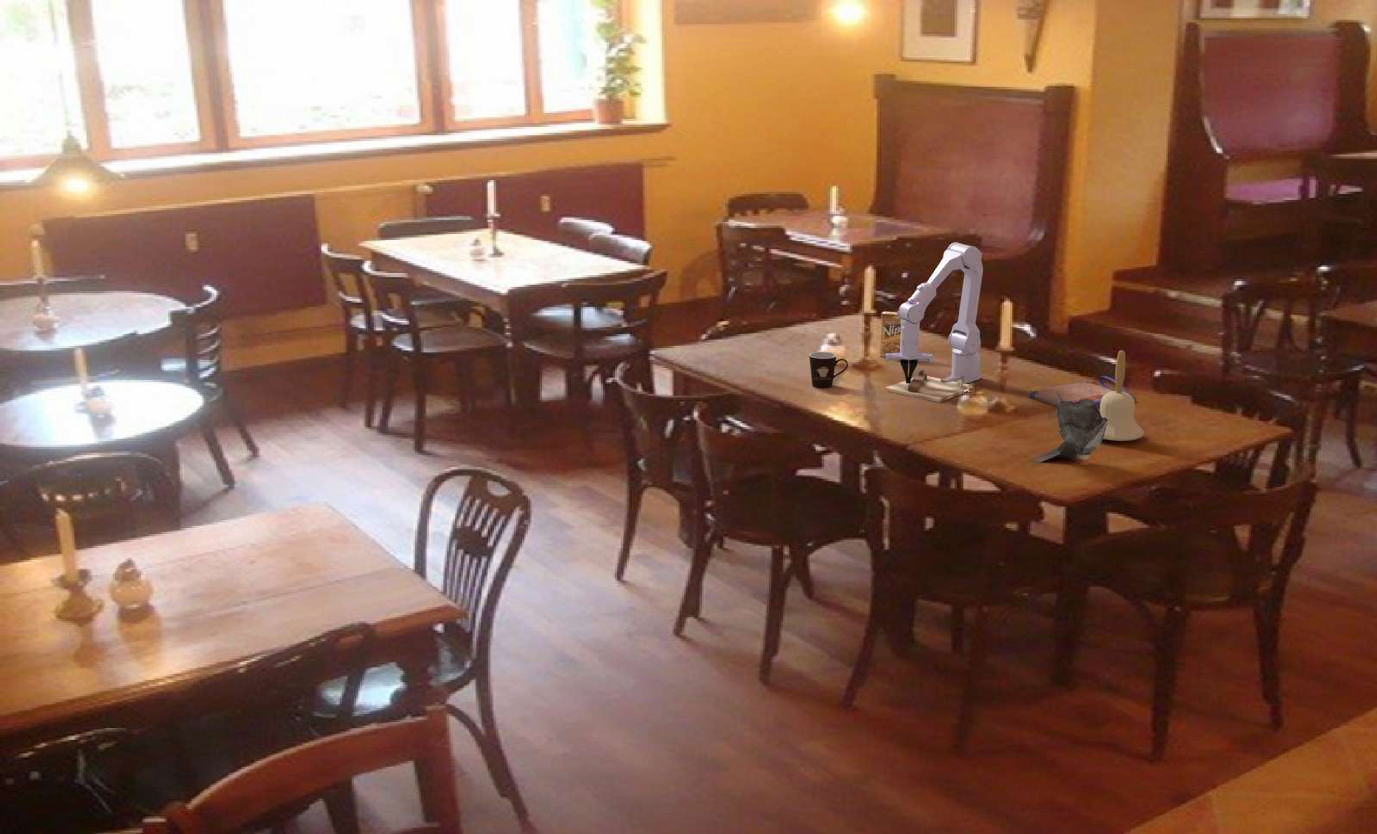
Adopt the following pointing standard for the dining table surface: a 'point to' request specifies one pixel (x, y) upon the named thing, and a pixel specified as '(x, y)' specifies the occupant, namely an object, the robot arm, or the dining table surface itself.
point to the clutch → (1074, 392)
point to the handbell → (1120, 409)
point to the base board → (930, 389)
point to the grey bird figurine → (1077, 430)
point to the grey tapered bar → (917, 381)
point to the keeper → (956, 378)
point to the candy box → (890, 333)
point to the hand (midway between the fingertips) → (908, 382)
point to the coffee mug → (823, 368)
